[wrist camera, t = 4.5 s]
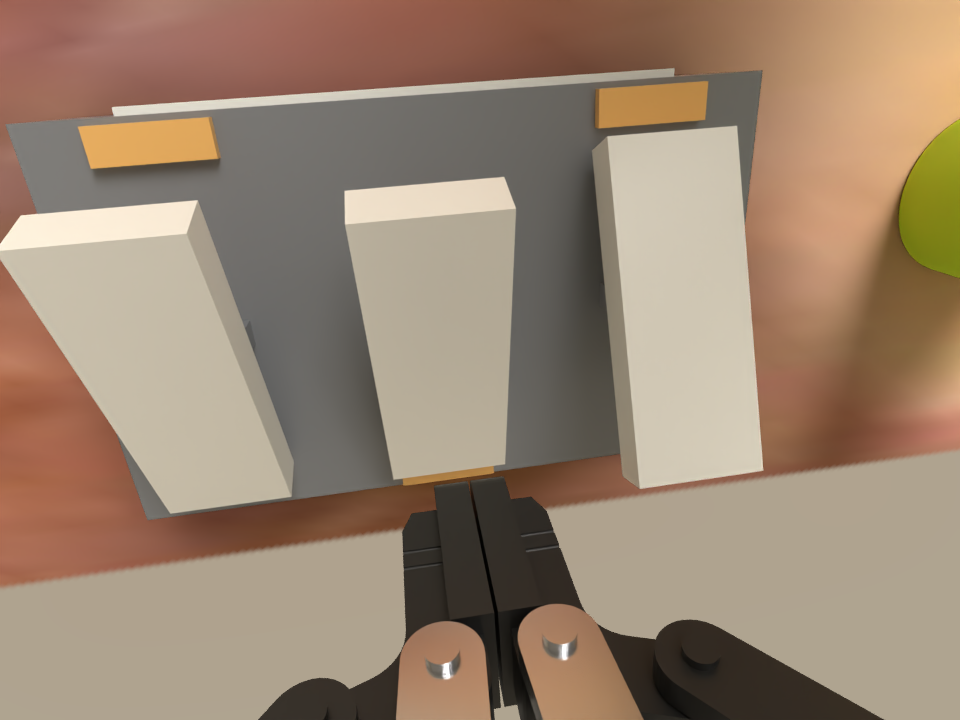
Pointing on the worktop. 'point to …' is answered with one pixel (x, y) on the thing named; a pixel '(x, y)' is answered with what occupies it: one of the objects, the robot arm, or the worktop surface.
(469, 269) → the block
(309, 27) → the worktop surface
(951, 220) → the soap dispenser
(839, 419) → the worktop surface
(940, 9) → the worktop surface
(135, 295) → the block
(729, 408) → the block
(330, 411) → the switch box
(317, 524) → the worktop surface
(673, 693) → the robot arm
